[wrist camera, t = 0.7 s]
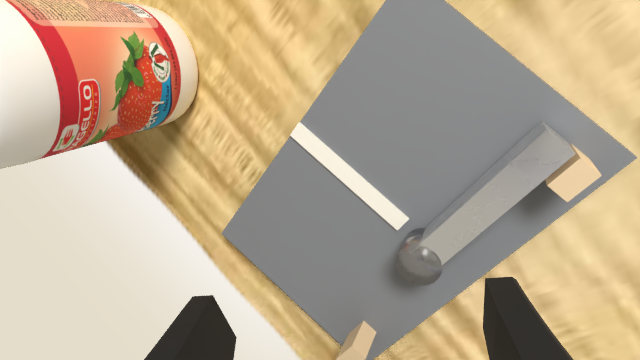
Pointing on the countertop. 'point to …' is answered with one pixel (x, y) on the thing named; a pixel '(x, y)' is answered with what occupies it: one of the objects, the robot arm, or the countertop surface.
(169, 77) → the fruit juice
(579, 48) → the countertop surface
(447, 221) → the lock bar
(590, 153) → the plate
